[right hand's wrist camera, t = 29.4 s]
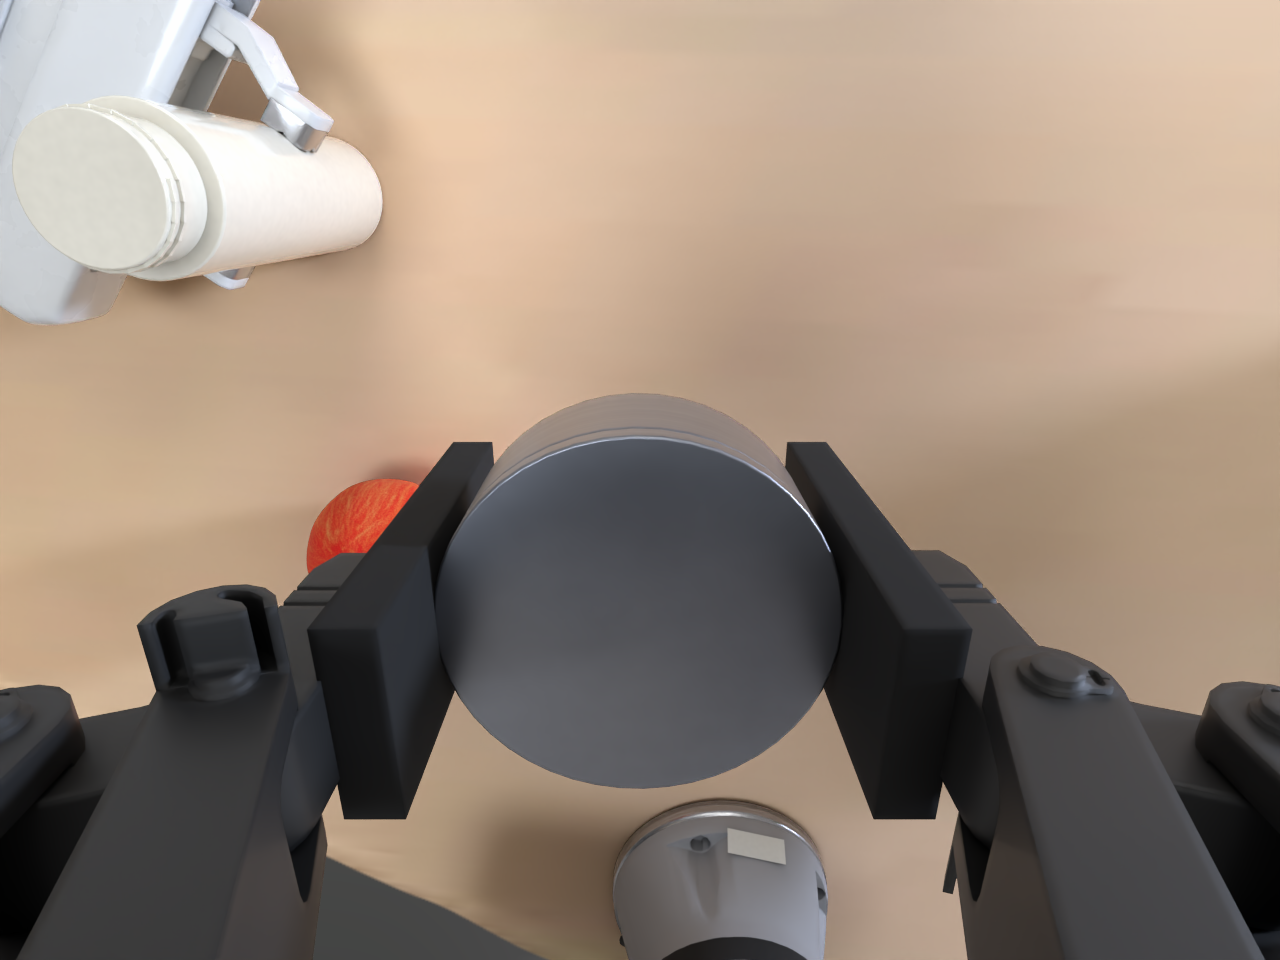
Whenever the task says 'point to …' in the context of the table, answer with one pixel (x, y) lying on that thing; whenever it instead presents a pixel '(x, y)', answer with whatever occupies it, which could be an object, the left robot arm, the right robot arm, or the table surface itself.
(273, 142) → the white bottle
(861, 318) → the table surface
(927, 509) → the table surface
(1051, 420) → the table surface
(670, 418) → the lid
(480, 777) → the table surface
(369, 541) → the apple
